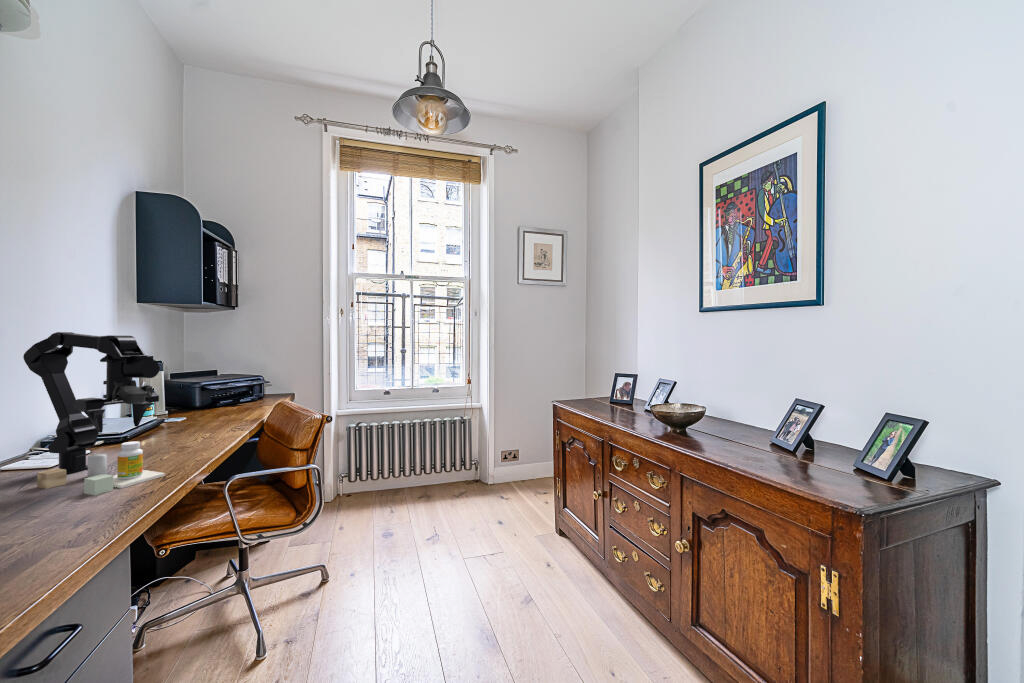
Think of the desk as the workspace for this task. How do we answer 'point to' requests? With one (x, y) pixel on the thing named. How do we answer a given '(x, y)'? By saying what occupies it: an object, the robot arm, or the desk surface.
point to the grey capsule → (97, 465)
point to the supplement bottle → (130, 461)
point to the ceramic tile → (136, 479)
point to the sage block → (98, 484)
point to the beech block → (51, 478)
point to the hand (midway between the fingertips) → (118, 429)
